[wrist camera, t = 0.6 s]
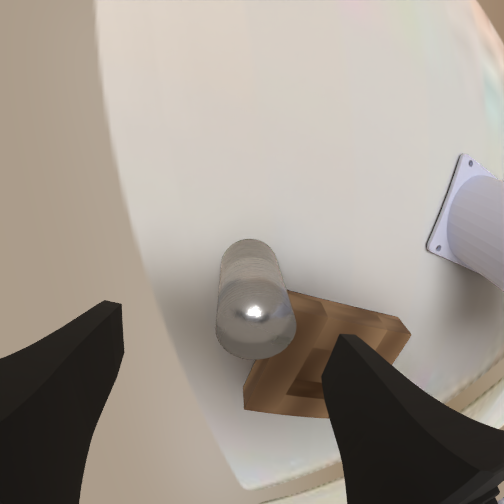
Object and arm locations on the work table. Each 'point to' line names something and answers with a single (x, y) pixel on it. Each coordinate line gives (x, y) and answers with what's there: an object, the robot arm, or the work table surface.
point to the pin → (253, 303)
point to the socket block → (316, 355)
